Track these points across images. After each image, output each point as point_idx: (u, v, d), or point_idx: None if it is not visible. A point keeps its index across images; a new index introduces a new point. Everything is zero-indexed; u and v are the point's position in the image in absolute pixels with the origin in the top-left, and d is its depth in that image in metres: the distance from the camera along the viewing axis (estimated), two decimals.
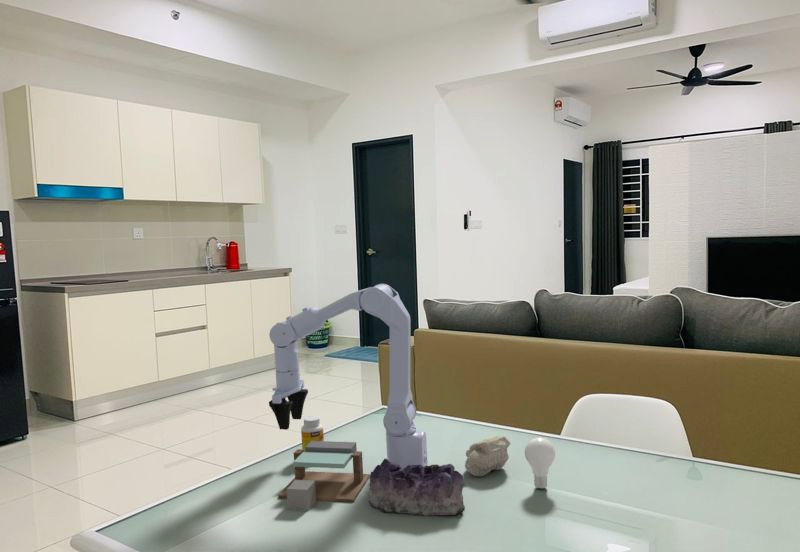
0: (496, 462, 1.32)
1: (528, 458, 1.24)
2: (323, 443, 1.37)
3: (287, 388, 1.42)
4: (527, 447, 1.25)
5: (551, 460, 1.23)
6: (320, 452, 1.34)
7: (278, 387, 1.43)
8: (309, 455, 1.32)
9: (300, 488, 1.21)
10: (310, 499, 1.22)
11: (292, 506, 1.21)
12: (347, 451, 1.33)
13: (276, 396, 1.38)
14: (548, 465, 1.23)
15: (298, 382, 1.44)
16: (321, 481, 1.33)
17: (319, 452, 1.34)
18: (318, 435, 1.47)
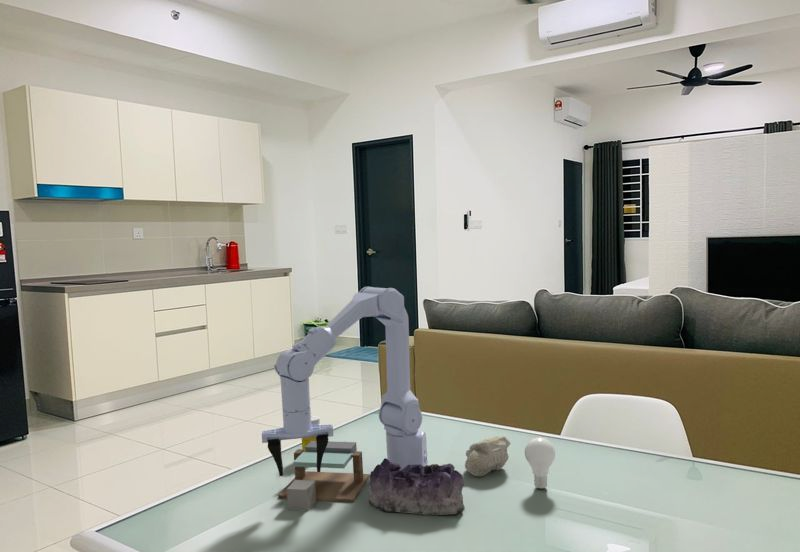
0: (496, 462, 1.32)
1: (528, 458, 1.24)
2: None
3: (284, 429, 1.21)
4: (527, 447, 1.25)
5: (551, 460, 1.23)
6: None
7: None
8: (309, 455, 1.32)
9: (300, 488, 1.21)
10: (310, 499, 1.22)
11: (292, 506, 1.21)
12: (347, 451, 1.33)
13: (262, 433, 1.21)
14: (548, 465, 1.23)
15: (296, 427, 1.19)
16: (321, 481, 1.33)
17: None
18: None
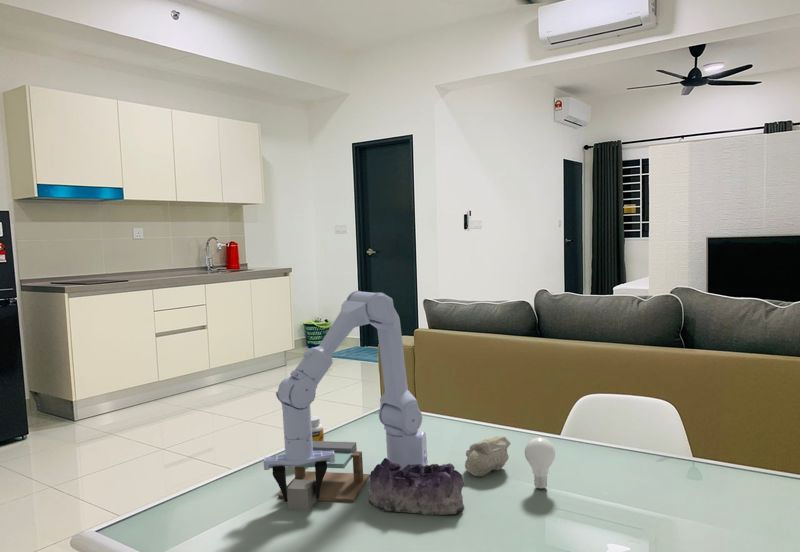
0: (496, 462, 1.32)
1: (528, 458, 1.24)
2: (323, 443, 1.37)
3: (286, 456, 1.21)
4: (527, 447, 1.25)
5: (551, 460, 1.23)
6: None
7: None
8: None
9: (300, 487, 1.21)
10: (310, 498, 1.22)
11: (292, 506, 1.21)
12: (347, 451, 1.33)
13: None
14: (548, 465, 1.23)
15: (297, 454, 1.20)
16: None
17: None
18: (318, 435, 1.47)
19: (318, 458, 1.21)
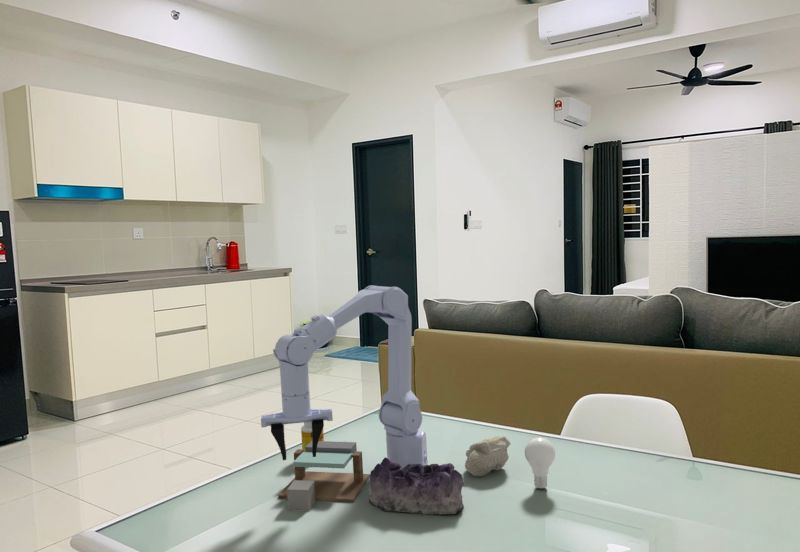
0: (496, 462, 1.32)
1: (528, 458, 1.24)
2: (323, 443, 1.37)
3: (283, 414, 1.21)
4: (527, 447, 1.25)
5: (551, 460, 1.23)
6: (320, 452, 1.34)
7: None
8: (309, 455, 1.32)
9: (300, 488, 1.21)
10: (310, 499, 1.22)
11: (292, 506, 1.21)
12: (347, 451, 1.33)
13: (261, 418, 1.21)
14: (548, 465, 1.23)
15: (295, 411, 1.19)
16: (321, 481, 1.33)
17: (319, 452, 1.34)
18: None
19: (316, 416, 1.21)
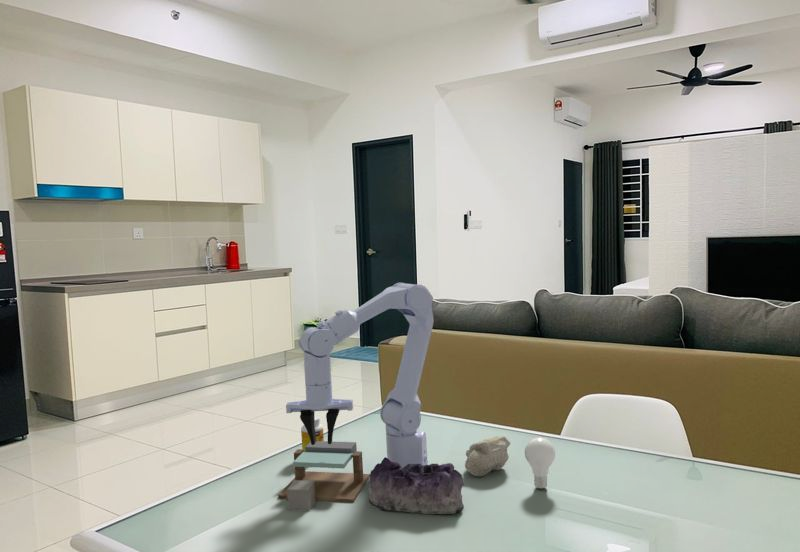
0: (496, 462, 1.32)
1: (528, 458, 1.24)
2: (323, 443, 1.37)
3: (306, 401, 1.29)
4: (527, 447, 1.25)
5: (551, 460, 1.23)
6: (320, 452, 1.34)
7: None
8: (309, 455, 1.32)
9: (300, 488, 1.21)
10: (310, 499, 1.22)
11: (292, 507, 1.21)
12: (347, 451, 1.33)
13: None
14: (548, 465, 1.23)
15: (316, 399, 1.27)
16: (321, 481, 1.33)
17: (319, 452, 1.34)
18: (318, 435, 1.47)
19: (336, 405, 1.28)
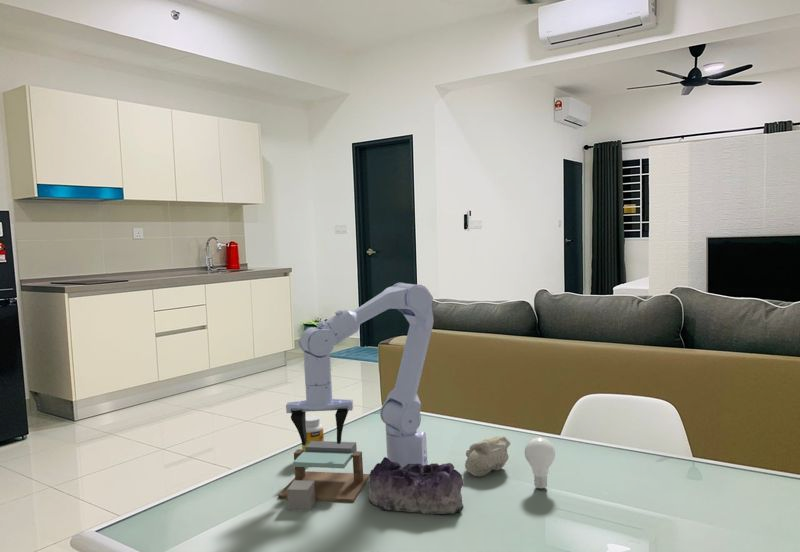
0: (496, 462, 1.32)
1: (528, 458, 1.24)
2: (323, 443, 1.37)
3: (306, 401, 1.29)
4: (527, 447, 1.25)
5: (551, 460, 1.23)
6: (320, 452, 1.34)
7: None
8: (309, 455, 1.32)
9: (300, 488, 1.21)
10: (310, 499, 1.22)
11: (292, 506, 1.21)
12: (347, 451, 1.33)
13: None
14: (548, 465, 1.23)
15: (316, 399, 1.27)
16: (321, 481, 1.33)
17: (319, 452, 1.34)
18: (318, 435, 1.47)
19: (336, 405, 1.28)
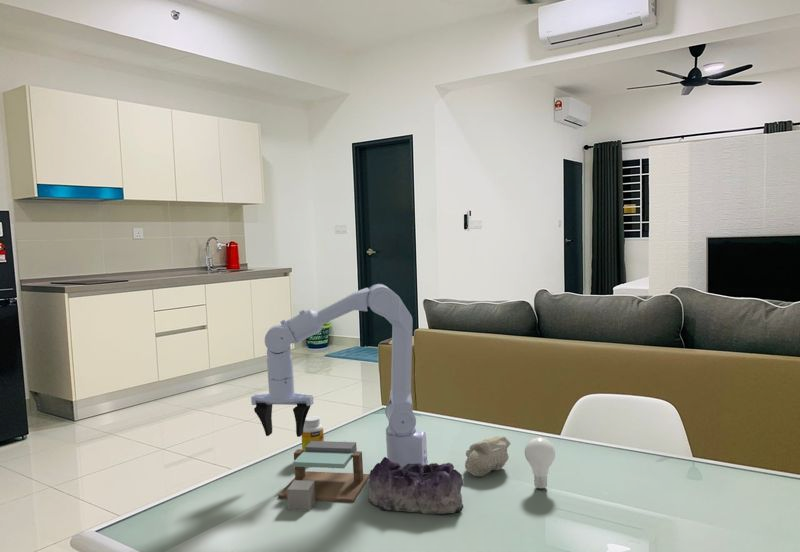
0: (496, 462, 1.32)
1: (528, 458, 1.24)
2: (323, 443, 1.37)
3: (269, 395, 1.36)
4: (527, 447, 1.25)
5: (551, 460, 1.23)
6: (320, 452, 1.34)
7: None
8: (309, 455, 1.32)
9: (300, 488, 1.21)
10: (310, 499, 1.22)
11: (292, 506, 1.21)
12: (347, 451, 1.33)
13: None
14: (548, 465, 1.23)
15: (275, 393, 1.33)
16: (321, 481, 1.33)
17: (319, 452, 1.34)
18: (318, 435, 1.47)
19: (294, 399, 1.33)
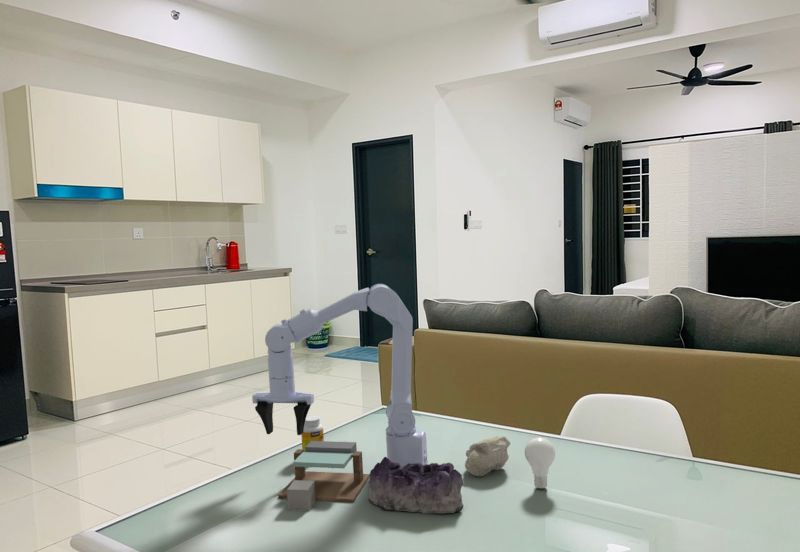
0: (496, 462, 1.32)
1: (528, 458, 1.24)
2: (323, 443, 1.37)
3: None
4: (527, 447, 1.25)
5: (551, 460, 1.23)
6: (320, 452, 1.34)
7: None
8: (309, 455, 1.32)
9: (300, 488, 1.21)
10: (310, 499, 1.22)
11: (292, 506, 1.21)
12: (347, 451, 1.33)
13: None
14: (548, 465, 1.23)
15: (276, 392, 1.34)
16: (321, 481, 1.33)
17: (319, 452, 1.34)
18: (318, 435, 1.47)
19: (295, 398, 1.34)
